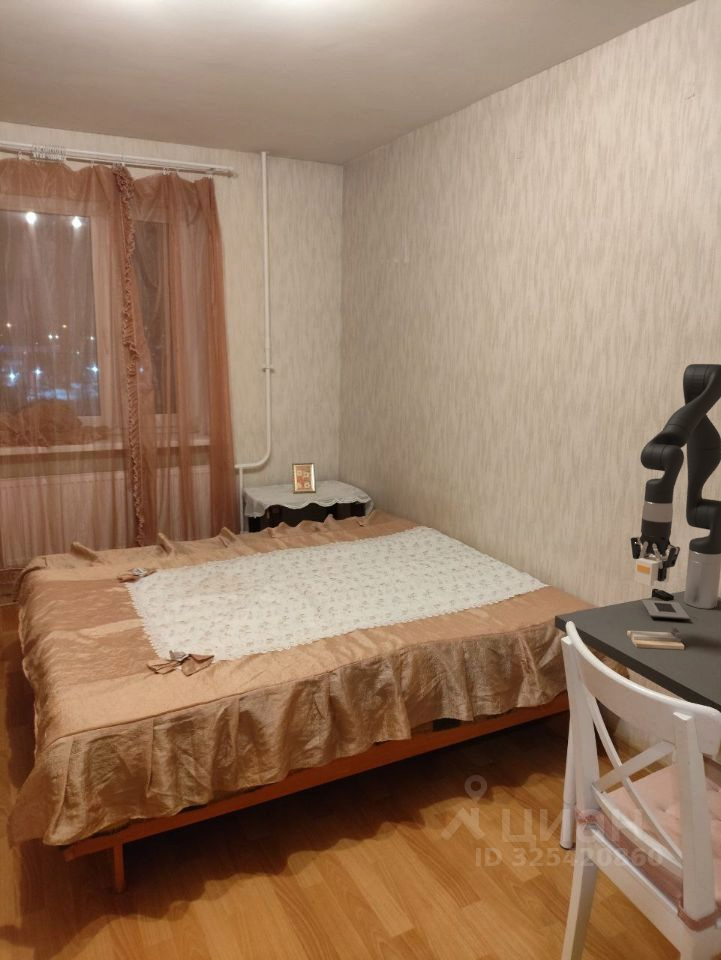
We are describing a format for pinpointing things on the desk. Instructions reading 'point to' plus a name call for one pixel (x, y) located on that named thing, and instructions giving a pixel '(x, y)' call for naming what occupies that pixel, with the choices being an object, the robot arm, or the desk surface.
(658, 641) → the rail board
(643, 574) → the white rectangular block
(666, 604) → the electrical outlet
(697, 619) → the desk surface
